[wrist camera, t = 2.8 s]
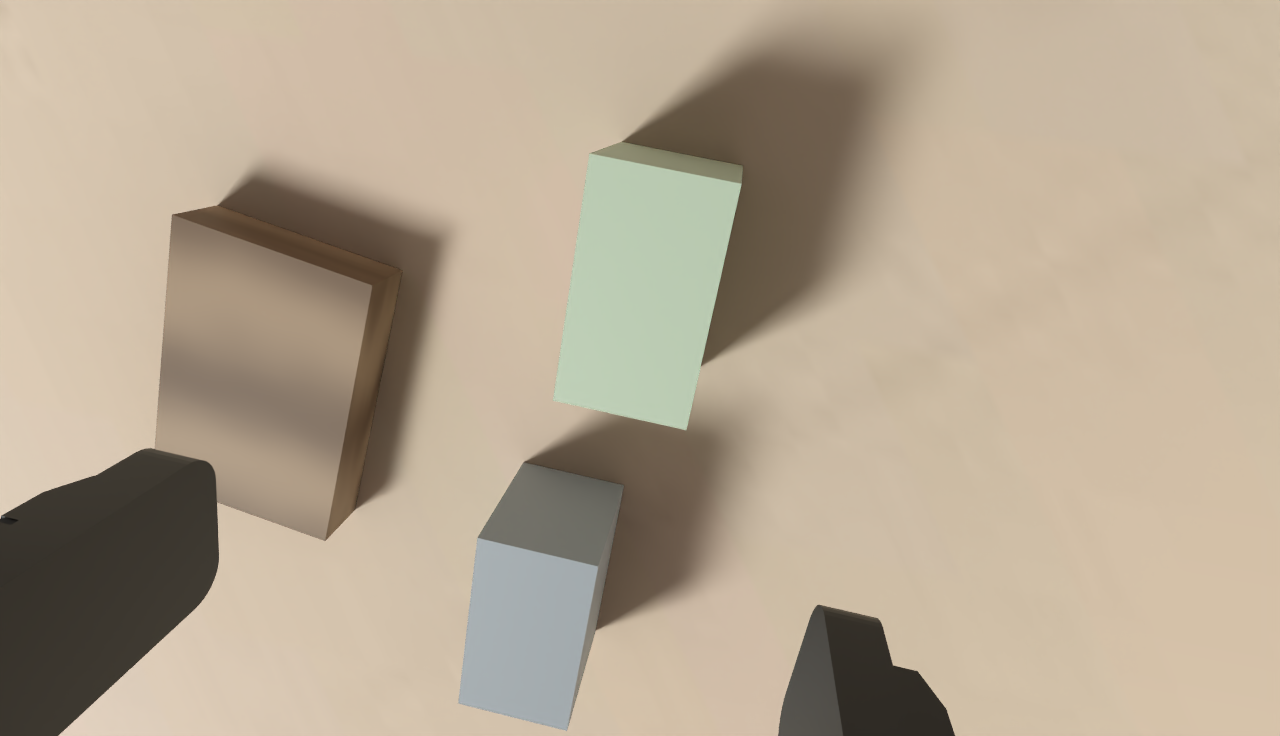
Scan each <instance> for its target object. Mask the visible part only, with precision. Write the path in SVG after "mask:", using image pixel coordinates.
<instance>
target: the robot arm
mask: <svg viewBox="0 0 1280 736" xmlns="http://www.w3.org/2000/svg"><path fill="white" fill-rule="evenodd" d="M218 563H219V547H218V519H217V490H216V475H215V471H214V469H213V467H212V465H211V464H210V463H208V462H207V461H204V460H199V459H195V458H191V457H186V456H182V455H178V454H173V453H169V452H165V451H160V450H156V449H152V448H150V449H143V450H140V451H138V452H136V453H134V454H132V455H131V456H129V457H127V458H126V459H124V460H122V461H120V462H119V463H117V464H115V465H113V466H112V467H110V468H108V469H107V470H105V471H103V472H101V473H100V474H98V475H96V476H92V477H89V478H86V479H82V480H79V481H76V482H73V483H70V484H67V485H64V486H61V487H58V488H55V489H52V490H49V491H46V492H43V493H41V494H39V495H37V496H36V497H34V498H32V499H30V500H29V501H27V502H25V503H23V504H21V505H20V506H18V507H16V508H14V509H12V510H11V511H9V512H7V513H5V514H4V515H2V516H1V519H0V736H58V735H59V734H60V733H61V732H63V731H64V730H65V729H66V728H67V727H68V726H69V725H70V724H71V723H72V722H73V721H74V720H76V719H77V718H78V717H79V716H80V715H81V714H82V713H83V712H84V711H85V710H86V709H87V708H88V707H90V706H91V705H92V704H93V703H94V702H95V701H96V700H97V699H98V698H99V697H100V696H101V695H102V694H104V693H105V692H106V691H107V690H108V689H109V688H110V687H111V686H112V685H113V684H114V683H115V682H117V681H118V680H119V679H120V678H121V677H122V676H123V675H124V674H125V673H126V672H127V671H128V670H129V669H131V668H132V667H133V666H134V665H135V664H136V663H137V662H138V661H139V660H140V659H141V658H142V657H143V656H145V655H146V654H147V653H148V652H149V651H150V650H151V649H152V648H153V647H154V646H155V645H156V644H158V643H159V642H160V641H161V640H162V639H163V638H164V637H165V636H166V635H167V634H168V633H169V632H170V631H172V630H173V629H174V628H175V627H176V626H177V625H178V624H179V623H180V622H181V621H182V620H183V619H184V618H186V617H187V616H188V615H189V614H190V613H191V612H192V611H193V610H194V609H195V608H196V607H197V606H198V605H199V604H200V603H201V602H202V600H203V599H204V598H205V596H206V595H207V593H208V591H209V589H210V588H211V586H212V583H213V581H214V578H215V576H216V572H217V568H218ZM778 736H955V734H954V731H953V728H952V725H951V722H950V719H949V716H948V713H947V710H946V708H945V707H944V706H943V704H942V703H941V702H940V700H939V699H938V698H937V696H936V695H935V694H934V692H933V691H932V690H931V688H930V687H929V686H928V684H927V683H926V682H925V680H924V679H923V678H922V677H921V675H920V674H919V673H918V671H914V670H910V669H905V668H901V667H897V666H893V664H892V661H891V657H890V653H889V649H888V645H887V642H886V638H885V634H884V630H883V627H882V624H881V622H880V620H879V619H878V618H874V617H870V616H865V615H861V614H857V613H852V612H848V611H844V610H839V609H835V608H831V607H826V606H822V605H817V606H816V607H815V609H814V610H813V613H812V615H811V617H810V620H809V623H808V626H807V630H806V633H805V636H804V639H803V642H802V645H801V648H800V651H799V654H798V657H797V660H796V664H795V667H794V670H793V673H792V676H791V679H790V682H789V685H788V688H787V691H786V695H785V698H784V702H783V706H782V711H781V717H780V724H779V734H778Z"/></svg>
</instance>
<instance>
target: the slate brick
mask: <svg viewBox="0 0 1280 736" xmlns="http://www.w3.org/2000/svg"><path fill="white" fill-rule="evenodd" d="M623 488H624V485H621V484H616V483H612V482H608V481H603V480H599V479H594V478H590V477H586V476H581V475H577V474H573V473H568V472H564V471H559V470H555V469H551V468H546V467H542V466H538V465H533V464H529V463H525V462H524V463H523V464H522V466H521V467H520V469H519V471H518V472H517V474H516V476H515V477H514V479H513V481H512V482H511V484H510V485H509V487H508V489H507V490H506V492H505V494H504V495H503V497H502V499H501V500H500V502H499V503H498V505H497V507H496V508H495V510H494V512H493V513H492V515H491V517H490V518H489V520H488V522H487V523H486V525H485V526H484V528H483V530H482V531H481V533H480V535H479V536H478V538H477V547H476V555H475V564H474V573H473V581H472V590H471V599H470V607H469V616H468V625H467V633H466V642H465V651H464V659H463V668H462V677H461V685H460V694H459V704H463V705H467V706H471V707H475V708H478V709H482V710H486V711H490V712H494V713H498V714H502V715H506V716H510V717H514V718H518V719H522V720H526V721H530V722H534V723H538V724H542V725H546V726H550V727H554V728H558V729H562V730H566V731H567V729H568V726H569V722H570V719H571V715H572V712H573V708H574V705H575V701H576V697H577V694H578V690H579V687H580V683H581V680H582V676H583V673H584V669H585V666H586V662H587V659H588V655H589V652H590V648H591V645H592V641H593V638H594V634H595V631H596V626H597V621H598V616H599V611H600V605H601V600H602V595H603V590H604V585H605V580H606V575H607V570H608V565H609V560H610V555H611V549H612V544H613V539H614V534H615V529H616V524H617V519H618V514H619V509H620V504H621V499H622V493H623Z"/></svg>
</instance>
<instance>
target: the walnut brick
mask: <svg viewBox="0 0 1280 736" xmlns="http://www.w3.org/2000/svg"><path fill="white" fill-rule="evenodd" d="M401 275H402V270H400V269H397V268H394V267H391V266H389V265H386V264H383V263H380V262H377V261H374V260H372V259H369V258H366V257H363V256H360V255H357V254H354V253H352V252H349V251H346V250H343V249H340V248H337V247H335V246H332V245H329V244H326V243H323V242H320V241H317V240H315V239H312V238H309V237H306V236H303V235H300V234H298V233H295V232H292V231H289V230H286V229H283V228H281V227H278V226H275V225H272V224H269V223H266V222H263V221H261V220H258V219H255V218H252V217H249V216H246V215H244V214H241V213H238V212H235V211H232V210H229V209H226V208H224V207H221V206H218V205H217V206H212V207H208V208H203V209H198V210H193V211H188V212H183V213H178V214H173V215H172V222H171V235H170V249H169V263H168V276H167V290H166V303H165V317H164V330H163V344H162V357H161V371H160V384H159V398H158V412H157V425H156V439H155V449H156V450H160V451H165V452H169V453H173V454H178V455H182V456H186V457H191V458H195V459H199V460H204V461H207V462H208V463H210V464H211V465H212V467H213V469H214V471H215V475H216V490H217V502H218V503H221V504H224V505H226V506H229V507H232V508H235V509H237V510H240V511H243V512H246V513H249V514H251V515H254V516H257V517H260V518H263V519H265V520H268V521H271V522H274V523H276V524H279V525H282V526H285V527H288V528H290V529H293V530H296V531H299V532H301V533H304V534H307V535H310V536H313V537H315V538H318V539H321V540H324V541H326V540H327V539H328V537H329V536H330V535H331V534H332V533H333V532H334V531H335V530H336V529H337V528H338V527H339V526H340V525H341V524H342V523H343V522H344V521H345V520H346V519H347V518H348V516H349V515H350V514H351V513H352V512H353V511H354V510H355V507H356V502H357V497H358V492H359V487H360V481H361V476H362V471H363V466H364V461H365V456H366V451H367V446H368V441H369V436H370V431H371V426H372V421H373V416H374V411H375V406H376V401H377V396H378V391H379V386H380V381H381V376H382V371H383V366H384V361H385V356H386V351H387V346H388V341H389V336H390V331H391V326H392V321H393V316H394V311H395V306H396V301H397V296H398V291H399V285H400V280H401Z"/></svg>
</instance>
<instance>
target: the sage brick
mask: <svg viewBox="0 0 1280 736" xmlns="http://www.w3.org/2000/svg"><path fill="white" fill-rule="evenodd" d="M742 173H743V166H742V165H737V164H732V163H726V162H721V161H716V160H711V159H706V158H701V157H696V156H691V155H686V154H681V153H676V152H671V151H666V150H661V149H656V148H651V147H646V146H641V145H636V144H631V143H625V142H620V143H617V144H614V145H612V146H609V147H606V148H603V149H601V150H598V151H595V152H592V153H590V154H589V161H588V167H587V174H586V181H585V188H584V195H583V201H582V208H581V215H580V222H579V228H578V235H577V242H576V249H575V255H574V262H573V269H572V276H571V283H570V289H569V296H568V303H567V310H566V316H565V323H564V330H563V337H562V344H561V350H560V357H559V364H558V371H557V377H556V384H555V391H554V398H553V401H557V402H562V403H566V404H571V405H575V406H580V407H584V408H589V409H593V410H598V411H602V412H607V413H611V414H616V415H620V416H625V417H629V418H633V419H638V420H642V421H647V422H651V423H656V424H660V425H665V426H669V427H674V428H678V429H683V430H687V425H688V421H689V416H690V412H691V407H692V403H693V399H694V394H695V390H696V385H697V381H698V376H699V372H700V367H701V363H702V358H703V354H704V350H705V345H706V341H707V336H708V332H709V327H710V323H711V318H712V314H713V309H714V305H715V300H716V296H717V292H718V287H719V283H720V278H721V274H722V269H723V265H724V260H725V256H726V251H727V247H728V243H729V238H730V234H731V229H732V225H733V220H734V216H735V211H736V207H737V202H738V198H739V193H740V189H741V185H742Z"/></svg>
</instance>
